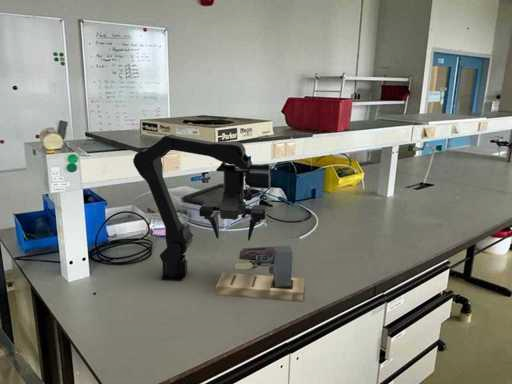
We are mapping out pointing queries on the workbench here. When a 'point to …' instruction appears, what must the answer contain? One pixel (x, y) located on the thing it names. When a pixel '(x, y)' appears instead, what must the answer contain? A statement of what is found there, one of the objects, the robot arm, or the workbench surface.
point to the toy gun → (256, 257)
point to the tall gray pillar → (282, 267)
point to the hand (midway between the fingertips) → (233, 239)
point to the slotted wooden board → (258, 287)
